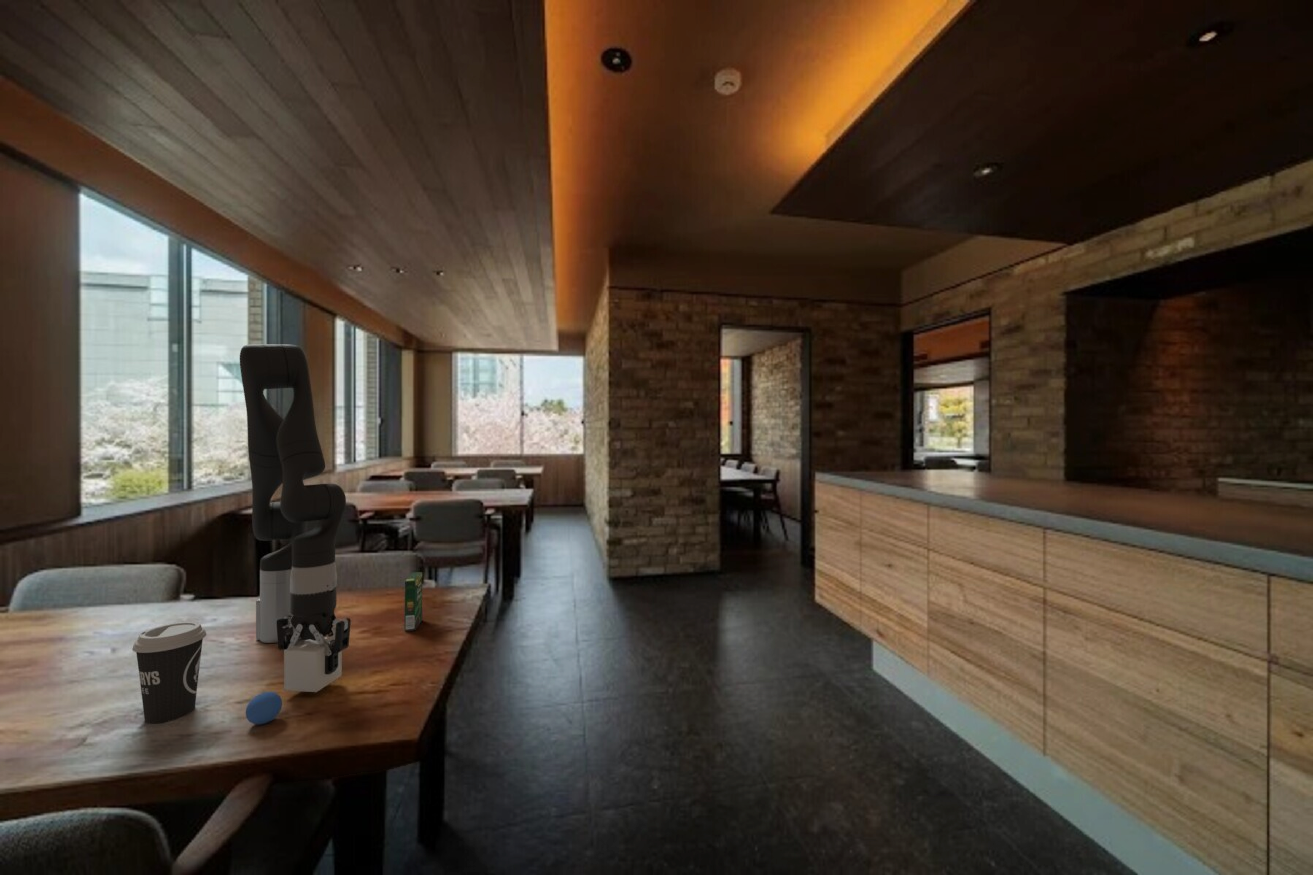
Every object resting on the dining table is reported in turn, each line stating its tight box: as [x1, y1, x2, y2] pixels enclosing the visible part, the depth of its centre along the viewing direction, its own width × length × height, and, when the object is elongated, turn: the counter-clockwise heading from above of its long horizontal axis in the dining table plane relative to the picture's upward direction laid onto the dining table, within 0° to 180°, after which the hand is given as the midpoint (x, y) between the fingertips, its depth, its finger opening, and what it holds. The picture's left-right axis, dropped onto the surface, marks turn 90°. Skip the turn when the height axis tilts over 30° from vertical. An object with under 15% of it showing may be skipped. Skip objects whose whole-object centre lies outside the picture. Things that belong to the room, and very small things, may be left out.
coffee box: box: [404, 571, 423, 632], centre depth 132 cm, size 8×3×13 cm, turn 13°
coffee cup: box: [131, 621, 207, 724], centre depth 90 cm, size 10×10×15 cm
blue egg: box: [245, 691, 283, 725], centre depth 88 cm, size 5×5×5 cm
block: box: [283, 636, 343, 693], centre depth 99 cm, size 7×7×8 cm
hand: (313, 671), depth 99 cm, fingers closed on block, 6 cm apart
